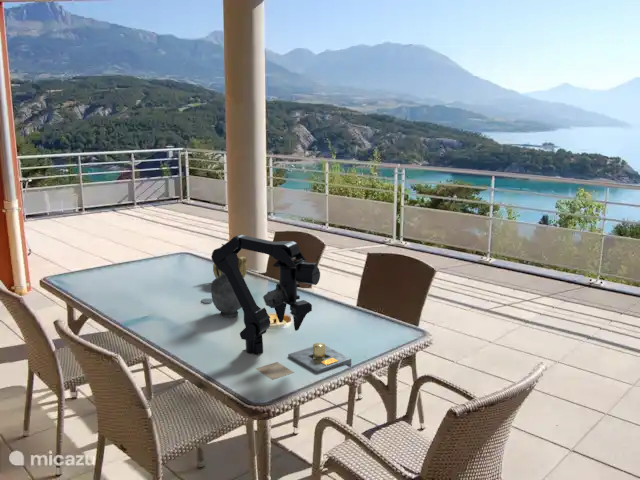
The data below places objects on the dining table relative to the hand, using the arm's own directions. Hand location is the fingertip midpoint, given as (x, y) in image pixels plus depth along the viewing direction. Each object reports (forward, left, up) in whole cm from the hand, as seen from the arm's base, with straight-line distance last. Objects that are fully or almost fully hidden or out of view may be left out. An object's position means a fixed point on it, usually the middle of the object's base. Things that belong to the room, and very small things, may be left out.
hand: (288, 326), depth 179 cm
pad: (+6, -9, -12) cm, 16 cm away
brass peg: (+8, +7, -12) cm, 16 cm away
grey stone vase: (-55, +6, -12) cm, 57 cm away
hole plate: (+8, +7, -12) cm, 16 cm away
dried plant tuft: (-96, +29, -12) cm, 101 cm away
